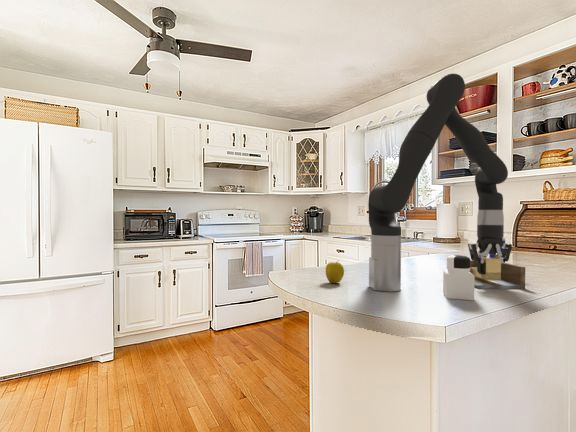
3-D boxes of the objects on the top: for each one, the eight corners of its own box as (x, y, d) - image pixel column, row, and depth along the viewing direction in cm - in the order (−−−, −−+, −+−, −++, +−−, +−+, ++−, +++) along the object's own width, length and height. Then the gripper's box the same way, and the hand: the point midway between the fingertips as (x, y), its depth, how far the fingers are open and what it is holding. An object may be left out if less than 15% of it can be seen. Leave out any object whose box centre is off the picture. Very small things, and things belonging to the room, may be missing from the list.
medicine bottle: (469, 294, 96) (469, 254, 96) (474, 301, 89) (475, 258, 89) (442, 292, 98) (443, 253, 98) (446, 298, 91) (446, 256, 91)
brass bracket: (467, 274, 115) (468, 254, 115) (481, 274, 116) (481, 255, 116) (485, 280, 105) (486, 258, 105) (500, 280, 106) (501, 258, 106)
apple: (345, 285, 107) (345, 261, 107) (326, 285, 107) (326, 261, 107) (342, 281, 114) (342, 258, 114) (324, 281, 114) (324, 258, 114)
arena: (476, 288, 104) (477, 267, 104) (451, 279, 119) (452, 260, 119) (525, 288, 104) (525, 267, 104) (494, 279, 119) (494, 260, 119)
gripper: (503, 223, 111) (502, 272, 112) (462, 223, 111) (462, 272, 111) (519, 224, 104) (518, 276, 104) (476, 223, 103) (475, 276, 104)
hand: (489, 273), depth 108 cm, fingers closed on brass bracket, 5 cm apart
